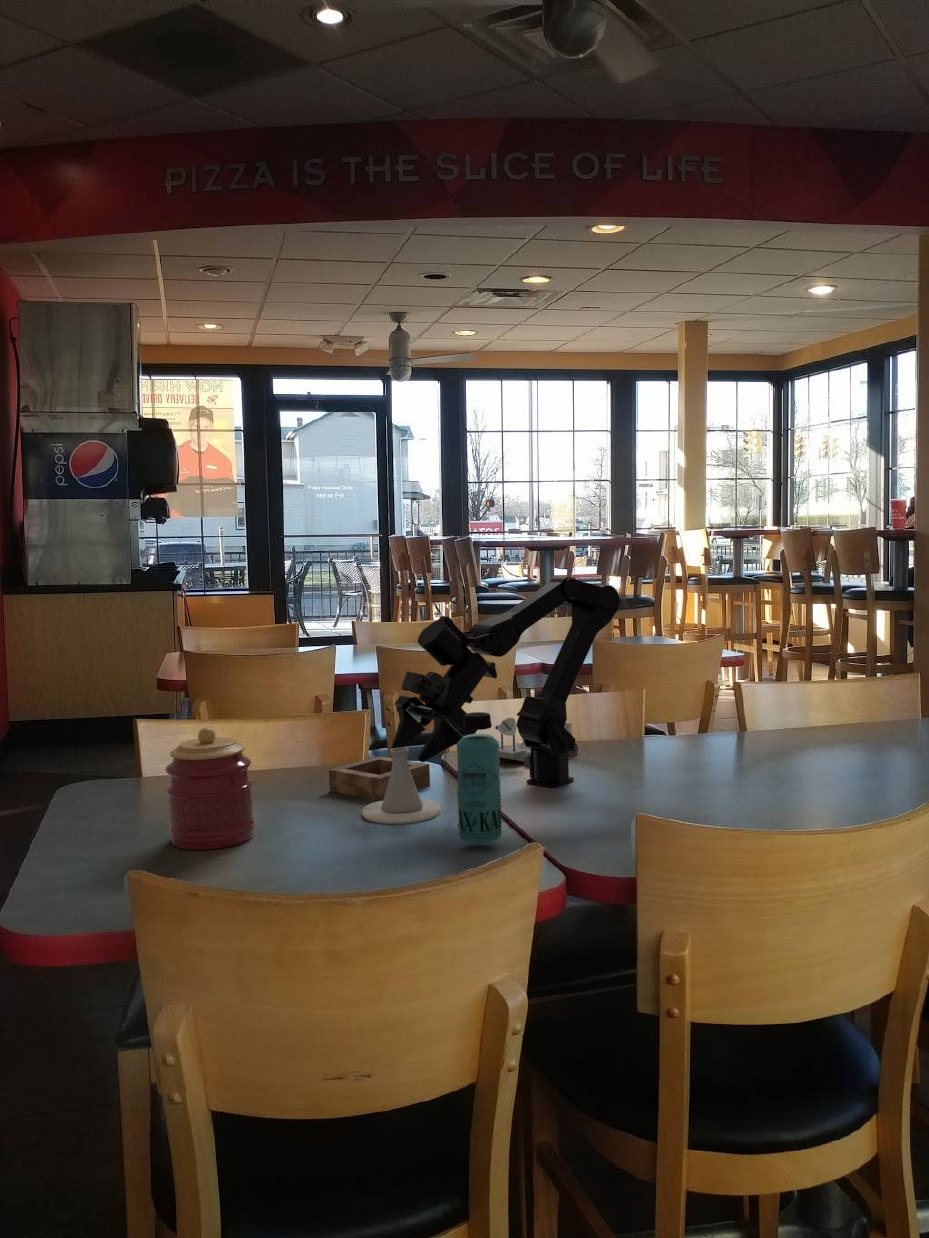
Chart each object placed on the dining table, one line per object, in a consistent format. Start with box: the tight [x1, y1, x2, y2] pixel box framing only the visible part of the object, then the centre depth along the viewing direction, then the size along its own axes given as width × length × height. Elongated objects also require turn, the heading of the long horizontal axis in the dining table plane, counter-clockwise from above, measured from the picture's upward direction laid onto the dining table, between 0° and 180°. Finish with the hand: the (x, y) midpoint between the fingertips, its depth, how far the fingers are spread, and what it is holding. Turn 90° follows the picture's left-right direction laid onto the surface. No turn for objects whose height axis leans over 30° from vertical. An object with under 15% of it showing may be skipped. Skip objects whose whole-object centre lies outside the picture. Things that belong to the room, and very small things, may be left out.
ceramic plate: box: [361, 798, 441, 825], centre depth 173 cm, size 13×13×1 cm
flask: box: [381, 746, 423, 813], centre depth 173 cm, size 7×7×10 cm
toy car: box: [494, 717, 579, 768], centre depth 211 cm, size 18×10×12 cm
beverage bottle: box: [456, 711, 503, 844], centre depth 152 cm, size 6×7×20 cm
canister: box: [165, 727, 255, 851], centre depth 162 cm, size 13×13×18 cm
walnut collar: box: [328, 755, 431, 802], centre depth 190 cm, size 13×13×4 cm
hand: (406, 756), depth 173 cm, fingers open, 9 cm apart
